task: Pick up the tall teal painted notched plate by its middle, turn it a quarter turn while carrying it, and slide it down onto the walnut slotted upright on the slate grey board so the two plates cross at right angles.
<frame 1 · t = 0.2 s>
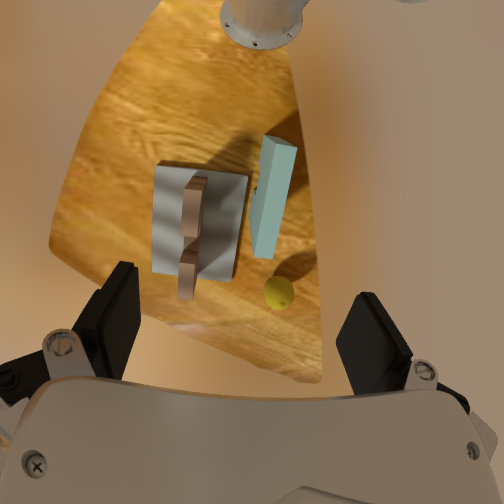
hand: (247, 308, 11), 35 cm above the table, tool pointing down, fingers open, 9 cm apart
notched plate: (263, 177, 44), on the table
lemon: (275, 279, 54), on the table
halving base: (195, 225, 47), on the table
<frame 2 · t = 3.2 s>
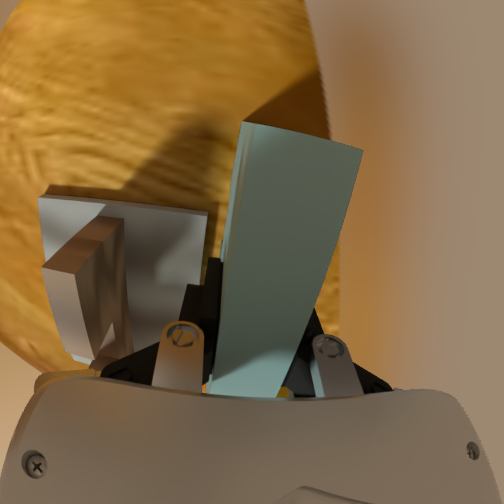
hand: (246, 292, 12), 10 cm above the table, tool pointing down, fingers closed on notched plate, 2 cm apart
notched plate: (241, 216, 21), on the table, touching gripper
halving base: (120, 302, 24), on the table
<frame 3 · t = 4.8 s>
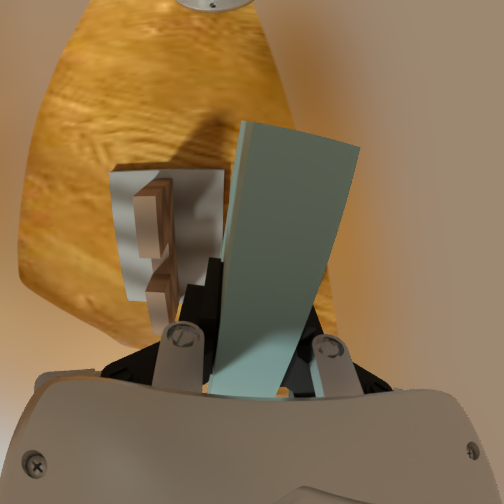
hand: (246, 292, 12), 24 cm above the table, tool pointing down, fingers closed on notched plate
notched plate: (241, 215, 21), point 14 cm above the table, touching gripper
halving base: (168, 240, 37), on the table
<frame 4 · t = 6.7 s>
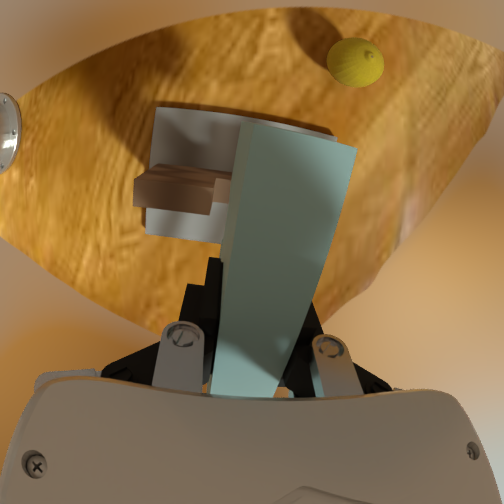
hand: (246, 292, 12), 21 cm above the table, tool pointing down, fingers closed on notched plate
notched plate: (241, 215, 21), point 11 cm above the table, touching gripper
lemon: (340, 68, 25), on the table
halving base: (236, 181, 31), on the table
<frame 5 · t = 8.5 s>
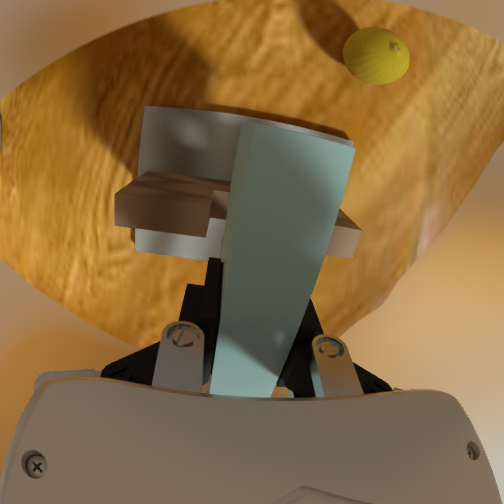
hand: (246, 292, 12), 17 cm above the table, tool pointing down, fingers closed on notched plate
notched plate: (241, 214, 21), point 7 cm above the table, touching gripper
lemon: (356, 62, 21), on the table
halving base: (237, 192, 27), on the table
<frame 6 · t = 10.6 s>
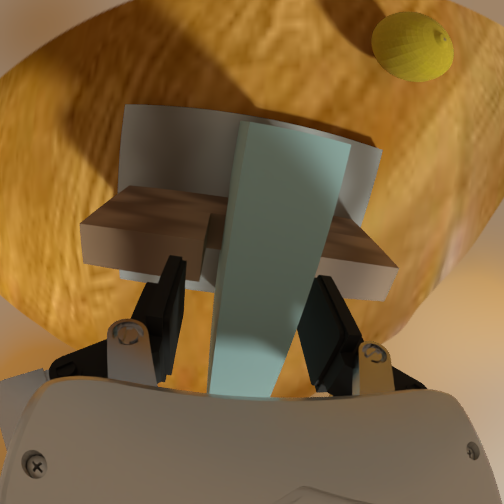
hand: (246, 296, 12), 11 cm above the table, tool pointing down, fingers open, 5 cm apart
notched plate: (241, 214, 21), point 1 cm above the table, touching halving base
lemon: (384, 54, 16), on the table
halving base: (241, 210, 22), on the table
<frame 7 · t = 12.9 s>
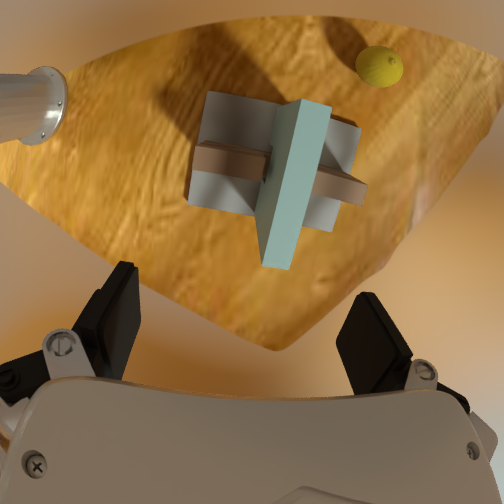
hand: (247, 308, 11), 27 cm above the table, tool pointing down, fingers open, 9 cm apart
notched plate: (275, 162, 33), point 1 cm above the table, touching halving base
lemon: (364, 70, 29), on the table
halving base: (274, 161, 34), on the table
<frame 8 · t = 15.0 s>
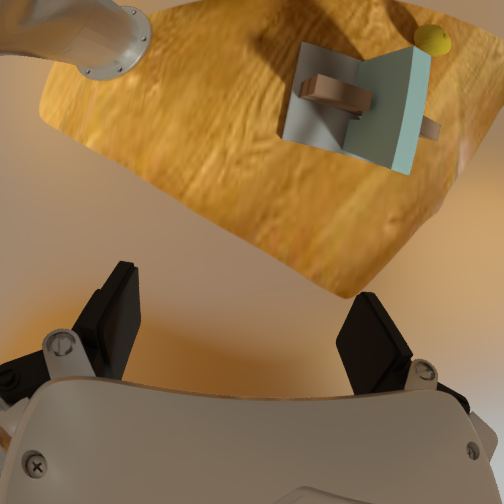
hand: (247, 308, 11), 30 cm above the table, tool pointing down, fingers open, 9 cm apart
notched plate: (359, 107, 33), point 1 cm above the table, touching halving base
lemon: (417, 44, 29), on the table
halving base: (356, 108, 34), on the table
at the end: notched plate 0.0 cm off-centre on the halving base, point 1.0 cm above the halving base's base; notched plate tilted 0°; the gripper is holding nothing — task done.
